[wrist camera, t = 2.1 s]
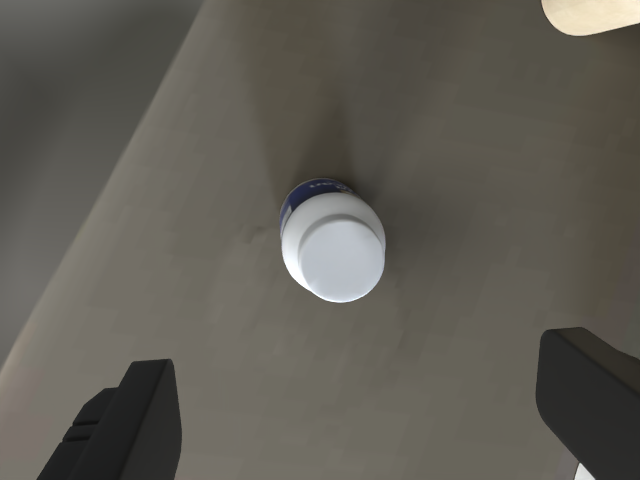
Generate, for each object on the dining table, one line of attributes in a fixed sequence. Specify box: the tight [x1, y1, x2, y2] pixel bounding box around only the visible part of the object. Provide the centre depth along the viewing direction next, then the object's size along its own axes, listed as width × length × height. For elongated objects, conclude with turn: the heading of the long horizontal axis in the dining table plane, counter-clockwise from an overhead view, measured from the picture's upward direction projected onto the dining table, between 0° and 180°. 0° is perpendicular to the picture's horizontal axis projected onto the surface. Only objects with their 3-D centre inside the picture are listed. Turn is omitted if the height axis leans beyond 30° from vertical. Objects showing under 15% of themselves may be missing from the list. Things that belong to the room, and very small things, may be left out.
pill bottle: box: [280, 178, 385, 302], centre depth 26 cm, size 5×5×10 cm
